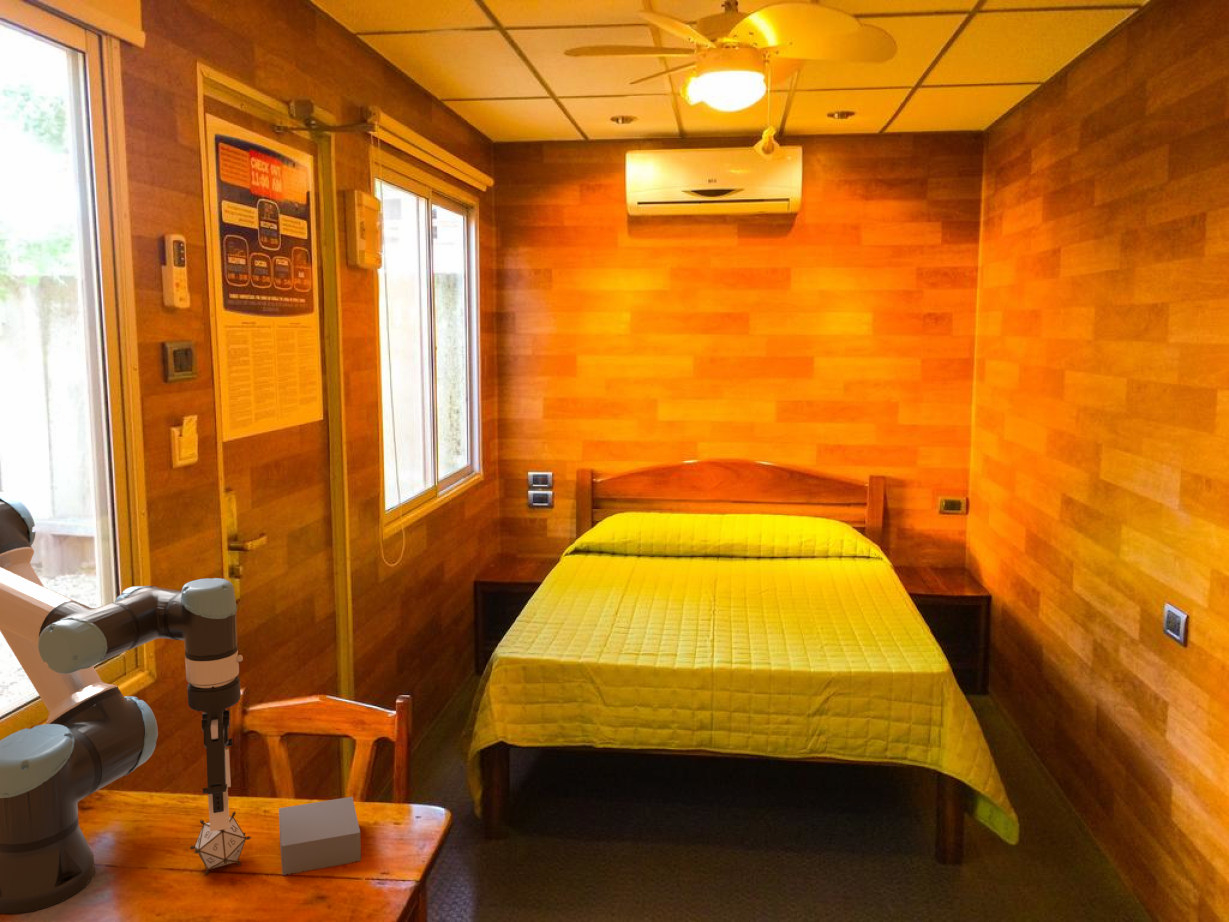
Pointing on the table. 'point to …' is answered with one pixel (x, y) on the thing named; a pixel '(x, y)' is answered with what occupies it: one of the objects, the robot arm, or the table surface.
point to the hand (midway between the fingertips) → (220, 807)
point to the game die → (220, 845)
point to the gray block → (319, 835)
